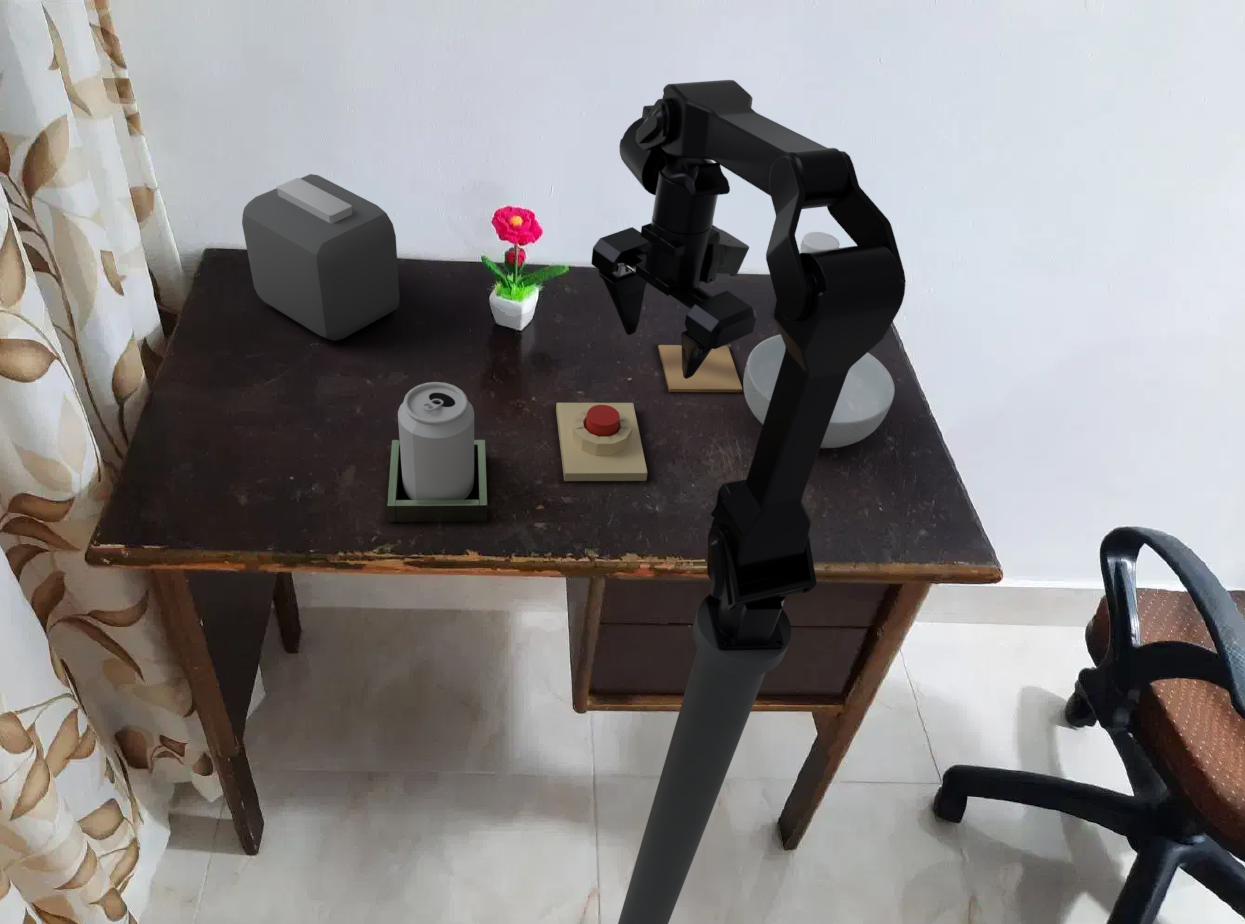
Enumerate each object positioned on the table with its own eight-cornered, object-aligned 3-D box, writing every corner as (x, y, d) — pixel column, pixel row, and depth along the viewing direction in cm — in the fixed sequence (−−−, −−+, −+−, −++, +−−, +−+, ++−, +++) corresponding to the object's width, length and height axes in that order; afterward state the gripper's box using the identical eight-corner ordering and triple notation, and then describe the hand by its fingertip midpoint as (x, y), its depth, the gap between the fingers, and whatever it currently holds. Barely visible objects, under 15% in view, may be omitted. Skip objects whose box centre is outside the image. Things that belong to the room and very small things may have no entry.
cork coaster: (741, 392, 115) (742, 389, 115) (669, 392, 114) (669, 389, 114) (727, 348, 121) (727, 345, 121) (658, 348, 121) (658, 344, 120)
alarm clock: (400, 318, 122) (393, 205, 111) (333, 356, 115) (318, 240, 104) (316, 269, 128) (301, 158, 117) (248, 303, 122) (225, 189, 111)
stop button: (619, 437, 104) (621, 425, 103) (587, 437, 104) (588, 425, 103) (615, 416, 107) (617, 404, 105) (584, 416, 106) (585, 404, 105)
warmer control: (646, 481, 103) (649, 460, 101) (564, 481, 102) (566, 460, 100) (631, 410, 112) (635, 390, 109) (556, 410, 111) (557, 390, 109)
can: (487, 482, 102) (489, 394, 93) (445, 523, 97) (443, 435, 88) (431, 455, 104) (428, 366, 95) (388, 493, 100) (380, 404, 91)
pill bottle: (831, 325, 127) (855, 249, 119) (792, 332, 125) (814, 256, 117) (806, 300, 130) (828, 225, 122) (768, 307, 129) (788, 232, 121)
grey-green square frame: (486, 521, 98) (487, 504, 96) (388, 522, 97) (387, 505, 95) (484, 456, 104) (485, 439, 103) (393, 456, 104) (391, 439, 102)
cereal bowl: (817, 491, 104) (835, 442, 99) (705, 414, 112) (716, 365, 107) (905, 429, 112) (925, 382, 107) (794, 361, 120) (808, 314, 115)
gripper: (812, 240, 88) (774, 374, 100) (678, 161, 98) (657, 291, 110) (728, 274, 83) (697, 411, 95) (595, 187, 93) (582, 321, 105)
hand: (658, 354), depth 101 cm, fingers open, 9 cm apart
